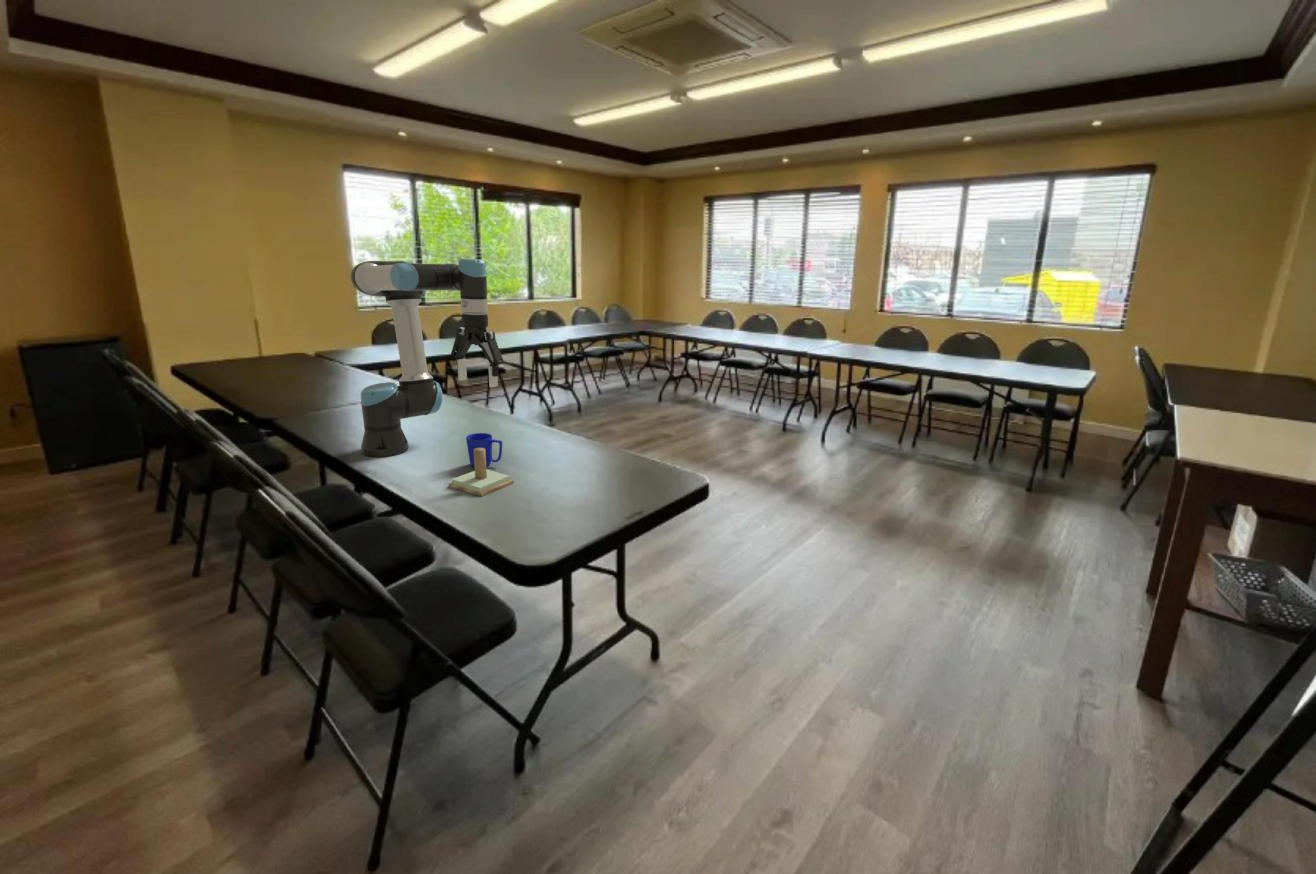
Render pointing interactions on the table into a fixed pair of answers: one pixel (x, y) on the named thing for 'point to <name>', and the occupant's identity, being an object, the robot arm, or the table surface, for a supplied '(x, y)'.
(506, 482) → the mat
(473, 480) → the lid
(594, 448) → the table surface
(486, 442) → the mug
